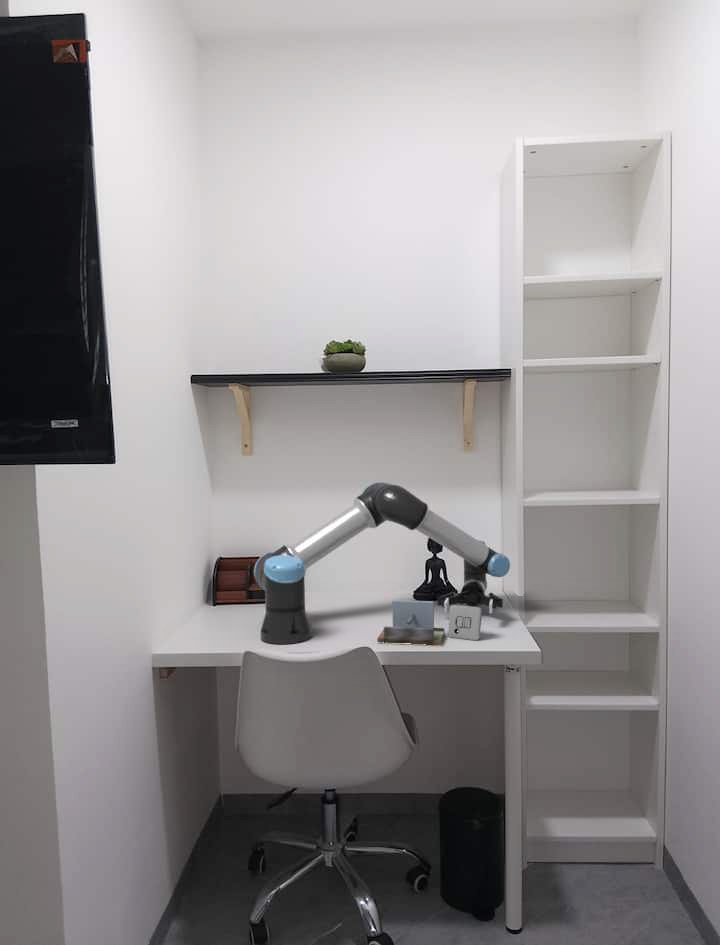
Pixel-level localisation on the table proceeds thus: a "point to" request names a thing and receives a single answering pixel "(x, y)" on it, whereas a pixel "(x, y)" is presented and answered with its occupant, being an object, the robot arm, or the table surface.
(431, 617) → the upright blue panel
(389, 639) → the gauge base
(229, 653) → the table surface
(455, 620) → the electrical switch
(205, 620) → the table surface
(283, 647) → the table surface
